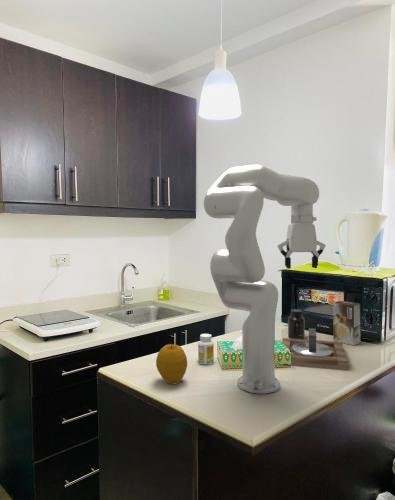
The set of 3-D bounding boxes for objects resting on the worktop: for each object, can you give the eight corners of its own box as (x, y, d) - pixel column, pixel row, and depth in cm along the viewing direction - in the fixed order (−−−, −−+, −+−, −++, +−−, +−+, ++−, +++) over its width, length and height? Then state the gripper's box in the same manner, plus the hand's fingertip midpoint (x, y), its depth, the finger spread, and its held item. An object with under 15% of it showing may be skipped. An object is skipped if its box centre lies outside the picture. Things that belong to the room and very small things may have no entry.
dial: (331, 347, 144) (331, 328, 143) (334, 360, 130) (334, 338, 130) (292, 345, 147) (292, 325, 147) (291, 357, 134) (291, 336, 133)
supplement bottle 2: (284, 336, 164) (285, 309, 163) (298, 335, 166) (298, 308, 165) (293, 341, 157) (293, 312, 157) (307, 339, 159) (308, 311, 159)
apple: (149, 381, 118) (149, 343, 117) (175, 373, 124) (174, 337, 123) (168, 391, 111) (167, 351, 110) (194, 382, 117) (193, 344, 116)
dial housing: (347, 370, 125) (347, 360, 125) (279, 364, 131) (279, 355, 131) (341, 349, 146) (341, 341, 146) (282, 345, 152) (282, 337, 152)
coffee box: (361, 342, 155) (361, 303, 154) (353, 346, 151) (354, 305, 150) (339, 337, 162) (340, 300, 161) (332, 341, 157) (332, 302, 156)
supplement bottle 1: (214, 359, 136) (213, 333, 136) (213, 365, 131) (213, 337, 130) (199, 359, 137) (198, 332, 136) (197, 364, 132) (197, 337, 131)
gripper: (320, 220, 141) (320, 266, 142) (275, 220, 140) (275, 267, 141) (329, 220, 134) (329, 268, 135) (281, 220, 132) (281, 269, 134)
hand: (301, 268), depth 138 cm, fingers open, 9 cm apart
